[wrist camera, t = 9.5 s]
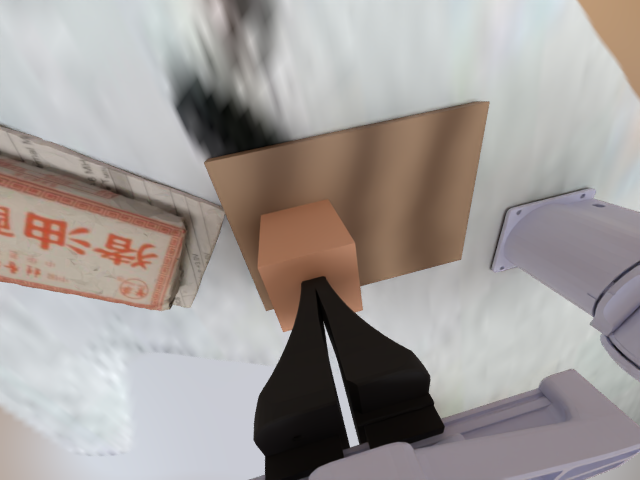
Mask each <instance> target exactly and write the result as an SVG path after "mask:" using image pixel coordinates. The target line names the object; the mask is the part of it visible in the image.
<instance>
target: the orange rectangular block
mask: <svg viewBox="0 0 640 480" xmlns="http://www.w3.org/2000/svg"><path fill="white" fill-rule="evenodd" d="M257 268H258V270H259V273H260V275H261V278H262V280H263V283H264V285H265V288H266V290H267V293H268V295H269V298H270V300H271V303H272V305H273V308H274V310H275V313H276V315H277V318H278V320H279V323H280V325H281V328H282V330H283V332H286V331H289V330H292V329H293V326H294V322H295V319H296V315H297V311H298V306H299V301H300V295H301V283H302V281H306V280H310V279H314V278H318V277H321V276H324V277H326V279H327V281H328V283H329V284H330V285H331V287H332V288H333V290H334V291H335V292H336V293H337V295H338V296H339V297H340V298H341V299H342V300H343V301H344V302H345V303H346V305H347V306H348V307H349V308H350V309H351V310H353V311H354V312H358V311H362V310H363V307H362V299H361V290H360V281H359V272H358V264H357V255H356V246H355V242H354V240H353V239H352V237H351V235H350V234H349V232H348V230H347V229H346V227H345V226H344V224H343V222H342V221H341V219H340V217H339V216H338V214H337V213H336V211H335V209H334V208H333V206H332V205H331V203H330V201H329V200H328V199H326V200H322V201H318V202H314V203H310V204H306V205H301V206H297V207H293V208H289V209H285V210H280V211H276V212H272V213H268V214H264V215H261V221H260V236H259V252H258V267H257Z"/></svg>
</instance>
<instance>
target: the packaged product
mask: <svg viewBox="0 0 640 480" xmlns="http://www.w3.org/2000/svg"><path fill="white" fill-rule="evenodd" d="M224 215H225V212H224V209H223V207H221V206H218V205H216V204H214V203H211V202H209V201H206V200H204V199H201V198H198V197H196V196H193V195H190V194H187V193H184V192H182V191H179V190H176V189H173V188H170V187H167V186H164V185H161V184H158V183H154V182H151V181H149V180H146V179H144V178H141V177H139V176H136V175H133V174H131V173H128V172H126V171H123V170H121V169H118V168H115V167H113V166H110V165H108V164H105V163H103V162H100V161H97V160H94V159H91V158H89V157H86V156H84V155H81V154H79V153H77V152H74V151H72V150H70V149H67V148H65V147H63V146H60V145H58V144H55V143H52V142H49V141H45V140H43V139H41V138H38V137H35V136H32V135H29V134H25V133H22V132H18V131H15V130H12V129H8V128H5V127H2V126H0V282H7V283H15V284H19V285H22V286H26V287H32V288H39V289H45V290H50V291H55V292H61V293H66V294H75V295H80V296H84V297H88V298H94V299H100V300H104V301H109V302H114V303H123V304H127V305H130V306H134V307H139V308H146V309H149V310H159V311H163V310H168V309H170V308H171V307H172V305H177V306H181V307H185V308H190V307H191V305H192V303H193V301H194V299H195V296H196V294H197V292H198V289H199V286H200V282H201V279H202V276H203V273H204V271H205V269H206V267H207V264H208V262H209V260H210V257H211V255H212V252H213V249H214V247H215V244H216V242H217V239H218V236H219V234H220V230H221V226H222V222H223V219H224Z"/></svg>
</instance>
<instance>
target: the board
mask: <svg viewBox="0 0 640 480" xmlns="http://www.w3.org/2000/svg"><path fill="white" fill-rule="evenodd" d="M488 108H489V102H473V103H468V104H463V105H459V106H454V107H449V108H444V109H440V110H435V111H430V112H426V113H421V114H416V115H412V116H407V117H402V118H398V119H393V120H388V121H384V122H379V123H374V124H370V125H365V126H360V127H356V128H351V129H346V130H341V131H337V132H332V133H327V134H323V135H318V136H313V137H309V138H304V139H299V140H295V141H290V142H285V143H281V144H276V145H271V146H267V147H262V148H257V149H253V150H248V151H243V152H238V153H234V154H229V155H224V156H220V157H215V158H210V159H207V160H206V161H205V162H204V164H205V166H206V169H207V171H208V174H209V176H210V178H211V181H212V183H213V186H214V188H215V190H216V193H217V195H218V197H219V200H220V202H221V205H222V207H223V209H224V212H225V214H226V216H227V219H228V221H229V224H230V226H231V228H232V231H233V233H234V235H235V238H236V240H237V243H238V245H239V247H240V250H241V252H242V255H243V257H244V259H245V262H246V264H247V266H248V269H249V271H250V274H251V276H252V278H253V281H254V283H255V285H256V288H257V290H258V293H259V295H260V297H261V300H262V302H263V305H264V307H265V309H266V311H268V310H272V309H274V308H273V305H272V303H271V300H270V298H269V295H268V293H267V290H266V288H265V285H264V283H263V280H262V278H261V275H260V273H259V270H258V268H257V267H258V252H259V236H260V221H261V215H264V214H268V213H272V212H276V211H280V210H285V209H289V208H293V207H297V206H301V205H306V204H310V203H314V202H318V201H322V200H326V199H328V200H329V201H330V203H331V205H332V206H333V208H334V209H335V211H336V213H337V214H338V216H339V217H340V219H341V221H342V222H343V224H344V226H345V227H346V229H347V230H348V232H349V234H350V235H351V237H352V239H353V240H354V242H355V246H356V255H357V264H358V272H359V281H360V286H363V285H367V284H370V283H374V282H378V281H382V280H385V279H389V278H393V277H397V276H401V275H404V274H408V273H412V272H416V271H419V270H423V269H427V268H431V267H435V266H438V265H442V264H446V263H450V262H454V261H457V260H461V257H462V251H463V246H464V240H465V235H466V229H467V224H468V218H469V213H470V207H471V202H472V196H473V191H474V185H475V180H476V174H477V168H478V163H479V157H480V152H481V146H482V141H483V135H484V130H485V124H486V119H487V113H488Z"/></svg>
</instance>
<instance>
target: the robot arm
mask: <svg viewBox="0 0 640 480" xmlns="http://www.w3.org/2000/svg"><path fill="white" fill-rule="evenodd" d="M595 193H596V190H595V189H593V188H588V189H584V190H580V191H577V192H573V193H569V194H565V195H561V196H557V197H553V198H549V199H545V200H541V201H537V202H533V203H529V204H525V205H521V206H517V207H513V208H510V209H509V210H508V211H507V213H506V217H505V221H504V224H503V228H502V232H501V235H500V239H499V243H498V246H497V250H496V254H495V257H494V261H493V265H492V269H491V270H492V271H493V272H500V271H504V270H507V269H511V268H515V267H519V268H520V269H522V270H523V271H525V272H526V273H528V274H529V275H531V276H532V277H534V278H535V279H537V280H538V281H540V282H541V283H543V284H544V285H546V286H547V287H549V288H550V289H552V290H553V291H555V292H556V293H558V294H559V295H561V296H562V297H564V298H565V299H567V300H569V301H570V302H572V303H573V304H575V305H576V306H578V307H579V308H581V309H582V310H584V311H585V312H587V313H588V314H590V315H591V316H593V317H594V318H593V320H592V321H591V322H590V325H591V326H593V327H594V328H596V329H597V330H598V331H600V332H601V333H602V334H601V336H600V340H601V343H602V345H603V347H604V348H605V350H606V351H607V352H608V354H609V355H610V357H611V358H612V359H613V360H614V361H615V362H616V363H617V364H618V365H619V366H620V367H621V368H622V369H623V370H624V371H626V372H627V373H628V374H629V375H631V376H632V377H633V378H635V379H636V380H638V381H639V382H640V212H637V211H634V210H631V209H627V208H624V207H620V206H617V205H614V204H610V203H607V202H604V201H600V200H597V199H593V198H594V195H595ZM323 321H324V323H323ZM324 324H325V327H326V329H327V332H328V335H329V338H330V341H331V343H332V346H333V349H334V352H335V355H336V358H337V361H338V364H339V368H340V372H341V375H342V379H343V383H344V387H345V391H346V395H347V398H348V402H349V406H350V410H351V414H352V418H353V421H354V425H355V429H356V432H357V436H358V440H359V445H357V446H354V447H351V448H350V446H349V441H348V437H347V433H346V429H345V425H344V421H343V416H342V412H341V408H340V404H339V400H338V396H337V391H336V387H335V383H334V379H333V375H332V370H331V366H330V361H329V356H328V349H327V343H326V336H325V329H324ZM429 386H430V375H429V373H428V371H427V370H426V368H425V367H424V365H423V364H422V363H421V361H420V360H419V359H418V358H417V356H416V355H415V354H414V353H413V352H412V351H411V350H409V349H407V348H405V347H403V346H401V345H399V344H398V343H396V342H394V341H393V340H391V339H389V338H388V337H386V336H385V335H383V334H382V333H380V332H379V331H377V330H376V329H374V328H373V327H372V326H370V325H369V324H368V323H366V322H365V321H364V320H363V319H362V318H360V317H359V316H358V315H357V314H356V313H355V312H354V311H353V310H351V309H350V308H349V307H348V306H347V305H346V303H345V302H344V301H343V300H342V299H341V298H340V297H339V296H338V295H337V293H336V292H335V291H334V290H333V288H332V287H331V285H330V284H329V283H328V281H327V279H326V277H324V276H321V277H318V278H314V279H310V280H306V281H302V283H301V295H300V301H299V306H298V311H297V315H296V319H295V322H294V326H293V329H292V332H291V334H290V337H289V340H288V342H287V345H286V347H285V349H284V352H283V354H282V356H281V358H280V360H279V362H278V364H277V366H276V368H275V370H274V372H273V373H272V375H271V377H270V379H269V380H268V382H267V383H266V385H265V387H264V388H263V390H262V392H261V393H260V395H259V398H258V402H257V407H256V412H255V421H254V442H255V444H256V445H257V446H258V448H259V449H260V450H261V451H262V453H263V454H264V455H265V475H262V476H259V477H256V478H253V479H250V480H585V479H588V478H591V477H593V476H596V475H599V474H601V473H604V472H607V471H610V470H612V469H615V468H618V467H619V466H621V465H622V464H624V463H625V462H627V461H628V460H630V459H631V458H633V457H634V456H636V455H637V454H639V453H640V426H639V425H637V424H636V423H635V422H634V421H633V420H632V419H631V418H629V417H628V416H627V415H626V414H625V413H624V412H623V411H621V410H620V409H619V408H618V407H617V406H616V405H615V404H613V403H612V402H611V401H610V400H609V399H608V398H607V397H605V396H604V395H603V394H602V393H601V392H600V391H598V390H597V389H596V388H595V387H594V386H593V385H592V384H590V383H589V382H588V381H587V380H586V379H585V378H584V377H582V376H581V375H580V374H579V373H578V372H577V371H576V370H574V369H569V370H566V371H563V372H560V373H556V374H553V375H550V376H548V377H546V378H544V379H543V380H542V381H541V382H540V384H539V388H537V389H534V390H531V391H528V392H525V393H521V394H518V395H515V396H512V397H509V398H506V399H502V400H499V401H496V402H493V403H490V404H487V405H483V406H480V407H477V408H474V409H471V410H468V411H464V412H461V413H458V414H455V415H452V416H449V417H446V418H442V419H441V418H440V416H439V415H438V413H437V411H436V409H435V407H434V401H433V399H432V397H431V396H430V394H429Z"/></svg>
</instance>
